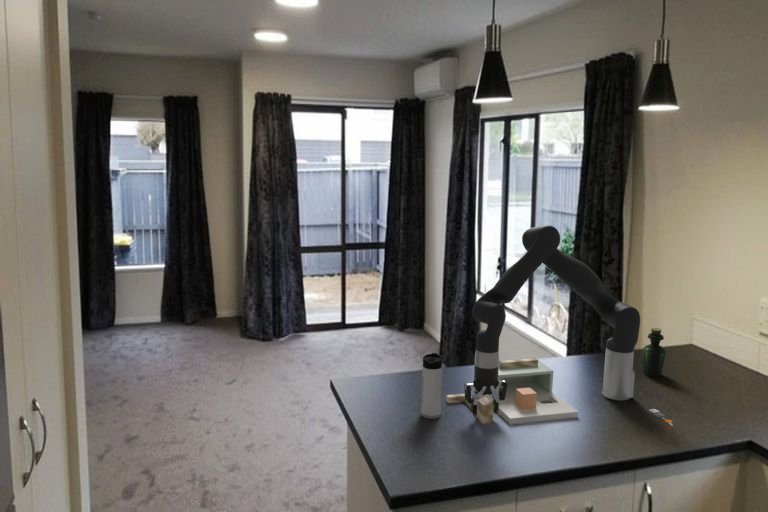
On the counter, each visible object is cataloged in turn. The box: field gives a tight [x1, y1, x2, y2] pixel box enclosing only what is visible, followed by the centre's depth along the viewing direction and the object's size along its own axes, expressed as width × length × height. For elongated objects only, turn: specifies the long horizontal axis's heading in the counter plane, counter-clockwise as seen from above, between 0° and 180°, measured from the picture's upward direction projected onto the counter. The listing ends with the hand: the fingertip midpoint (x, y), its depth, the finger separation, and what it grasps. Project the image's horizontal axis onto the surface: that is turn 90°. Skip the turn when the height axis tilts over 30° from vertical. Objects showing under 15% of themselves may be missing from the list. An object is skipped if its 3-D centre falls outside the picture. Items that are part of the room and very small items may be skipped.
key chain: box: [646, 408, 674, 427], centre depth 197 cm, size 13×4×2 cm, turn 19°
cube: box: [515, 388, 537, 409], centre depth 201 cm, size 5×5×5 cm
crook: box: [446, 393, 494, 425], centre depth 200 cm, size 9×19×6 cm, turn 14°
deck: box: [473, 359, 579, 425], centre depth 208 cm, size 24×29×10 cm
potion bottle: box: [642, 327, 667, 378], centre depth 236 cm, size 8×8×18 cm
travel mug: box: [421, 352, 443, 420], centre depth 196 cm, size 6×7×20 cm
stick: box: [499, 357, 539, 369], centre depth 215 cm, size 14×2×2 cm, turn 104°
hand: (484, 413), depth 195 cm, fingers open, 6 cm apart
